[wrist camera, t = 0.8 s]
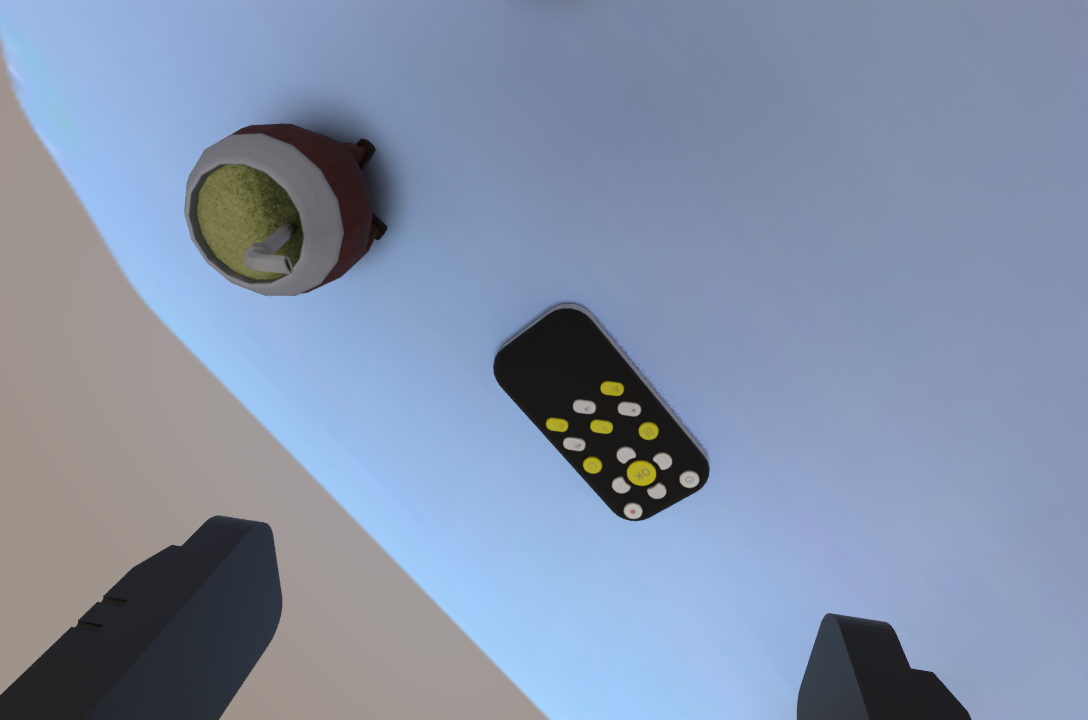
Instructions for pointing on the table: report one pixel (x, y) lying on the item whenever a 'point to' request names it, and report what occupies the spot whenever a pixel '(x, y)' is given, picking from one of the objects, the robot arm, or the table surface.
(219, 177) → the mate gourd
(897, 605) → the table surface
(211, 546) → the robot arm
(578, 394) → the remote control
